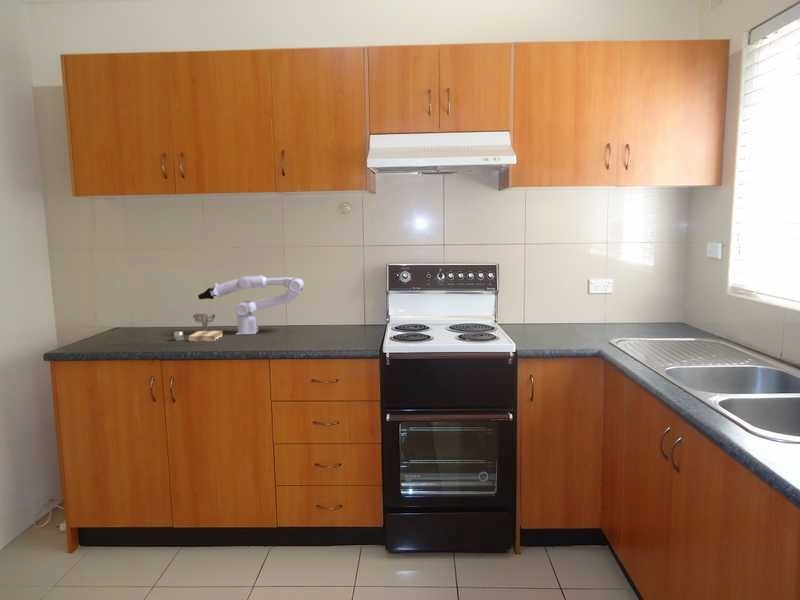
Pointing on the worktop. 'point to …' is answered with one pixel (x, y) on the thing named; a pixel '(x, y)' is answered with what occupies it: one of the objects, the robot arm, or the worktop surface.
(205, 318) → the mechanical component
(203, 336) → the stand
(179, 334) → the steel bushing
